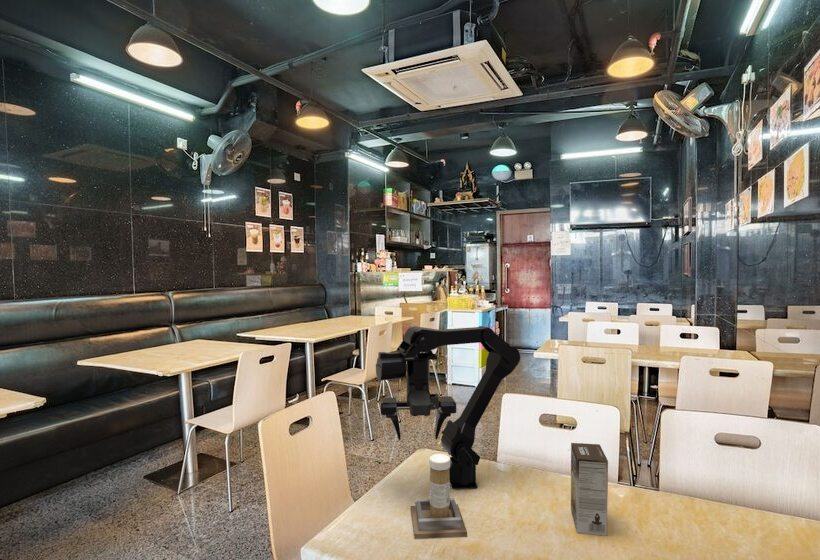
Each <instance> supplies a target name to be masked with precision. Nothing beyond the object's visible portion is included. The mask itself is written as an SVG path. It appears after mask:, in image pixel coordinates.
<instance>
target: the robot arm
mask: <svg viewBox="0 0 820 560" xmlns="http://www.w3.org/2000/svg"><path fill="white" fill-rule="evenodd" d="M477 343H480V344H481V346H482V348H483V349H484V350H485V351H487V353H488V355H487V357H486V363H485V371H484V372H483V375H482V377H481V378H480V380H479V382H478V383H477V385H476V387H475V389H474V391H473V392H472V394H471V397H470V398H469V400H468V402H467V404H466V406H465V407H464V408H463V411H462V413H461V414H460V416H459V417H458V418H457V419H456V420H454V421H452V419H449V420H448V421H447V423H446V425H445V428H444V429H443V430H442V431H441V429H442V426H443V424H444V422H445V421H446V419H447V418H449V417H451V416H452V414H457V402H456V401H455V399H454V398H453V396H450V395H448V396H447V395H446V396H439V394H438V393H431V392H430V360H431V361H432V360H433V361H434V360H438V359H439V358H438V356H437V355H436V354H435V353H434V352H433V351H434V350H435V349H438V348H441V347H443V346H452V345H453V346H454V345H465V344H477ZM520 361H521V352H520V351H519V349H518V348H517V347H516V346H513V345H510V344H509V343H508V342H507V341H506V340H504V339H503V338H502V337H500V336H499V335H498V334H497V333H496V332H495V331H494V330H493V329H492V328H491V327H489V326H488V327H487V326H484V325H479V326H474V327H459V328H445V329H442V328H441V329H436V328H429V327H424V326H423V327H422V326H416V325H415V326H410V327H408V328H407V330H406V331H405V333H404V337H403V340H402V341H401V343H400V344H399V346H398V347H397V348H396V350H395V351H391V352H386V351H379V352H378V357H377V358H376V364H375V373H376V375H375V376H376V378H377V381H379V382H381V381H391V380H393V381H394V380H402V379H403V377H405V376H406V401H397V397H382V398H381V399H380V415H382V416H385V418H387V419H390V420H391V421H392V424H393V427H394V429H395V432H396V436H397V439H398V441H401V438H402V437H401V436H402V435H401V429H400V421H399V413H398V410H409V414H410V416H411V417H417V416H419V417H420V416H424V417H429V416H431V412H432V411H435V410H436V411H435V412H436V414H435V422H434V423H435V426H434V439H435V440H438V438H439V435H440V434H442V435H441V438H440V441H441V442H440V443H441V446H442V448H443V449H444V450H445V451H446V452H447V453H448V456H450V457H449V458H450V469H449V475H450V477H449V478H450V487H451V488H452V489H453V490H461V489H465V490H466V489H477V488H478V484H477V478H476V477H477V476H476V475H477V470H476V469H477V466H478V465H479V463H480V460H481V456H480V455H479V454H478V453H477V452H476V451H475V450H473V446H474V442H475V439H476V428H477V426H478V424H479V423H480V420H481V419H482V417H483V416H484V414H485V412H486V410H487V409H488V408H487V407H488V406H489V404H490V403H491V401H492V399H493V397H494V395H495V393H496V392H497V389H498V388H499V386H500V384H501V382H502V381H503V379H505V378H506V377H507V376H509V375H510V374H511V373H513V371H514V370H515V369H516V368H517V366H518V365H519V364H520ZM440 432H441V433H440Z"/></svg>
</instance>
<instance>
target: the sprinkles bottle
mask: <svg viewBox="0 0 820 560" xmlns="http://www.w3.org/2000/svg"><path fill="white" fill-rule="evenodd" d="M428 459H429V465H428V466H429V476H430V477H429V499H430V518H450V514H449V504H450V498H451V492H450V491H451V489H450V488H451V483H450V478H449V477H450V475H449V469H450V457H449V455H446V454H443V453H442V454H441V453H435V454H432V455H431V456H430V457H429V458H428Z"/></svg>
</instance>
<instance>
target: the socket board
mask: <svg viewBox="0 0 820 560" xmlns="http://www.w3.org/2000/svg"><path fill="white" fill-rule="evenodd" d="M414 501H415V502H414V505H410V515H411V523H412V529H413V530H412V531H413V538H414V539H415V540H419V539H420V540H421V539H422V540H424V539H437V538H438V539H441V538H443V539H444V538H445V539H446V538H463V537H464V538H466V537H468V530H467V527H466V525H465V522H464V518H463V515H462V513H461V510H460V507H459V504H458V503H456V500H455V498H454V497H450V504H449V514H450V518H430V498H419V499H415V500H414Z"/></svg>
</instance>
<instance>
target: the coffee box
mask: <svg viewBox="0 0 820 560" xmlns="http://www.w3.org/2000/svg"><path fill="white" fill-rule="evenodd" d="M570 447H571V448H570V512H571V516H572V519H573V523H574V527H575V530H576V533H577V534H585V535H594V536H603V537H608V495H609V494H608V492H609V489H608V487H609V485H608V484H609V460H608V458H607V456H606V454H605V452H604V450H603V448H602V446H601V444H597V443H583V442H582V443H580V442H571V444H570Z"/></svg>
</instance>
